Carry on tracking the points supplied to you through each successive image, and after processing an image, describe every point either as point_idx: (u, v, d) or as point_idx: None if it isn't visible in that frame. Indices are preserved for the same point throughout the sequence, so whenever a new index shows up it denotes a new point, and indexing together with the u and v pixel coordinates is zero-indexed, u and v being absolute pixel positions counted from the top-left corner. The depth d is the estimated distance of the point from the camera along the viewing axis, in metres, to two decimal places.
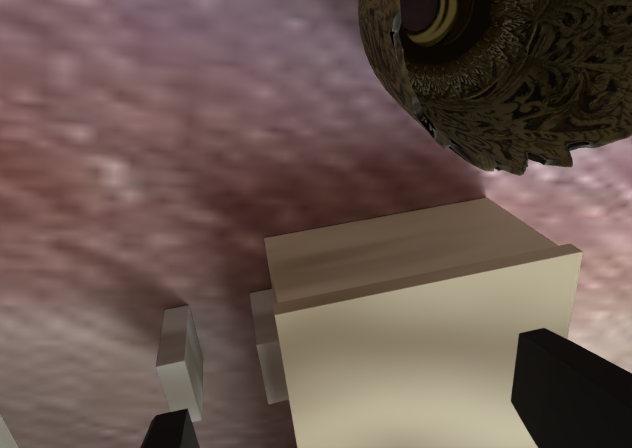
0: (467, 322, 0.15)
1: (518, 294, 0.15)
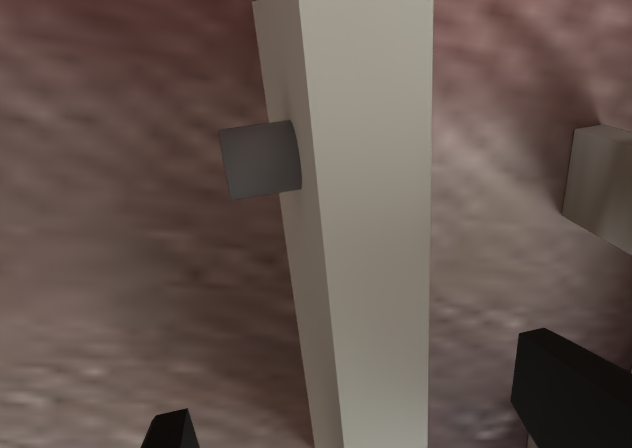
0: None
1: None
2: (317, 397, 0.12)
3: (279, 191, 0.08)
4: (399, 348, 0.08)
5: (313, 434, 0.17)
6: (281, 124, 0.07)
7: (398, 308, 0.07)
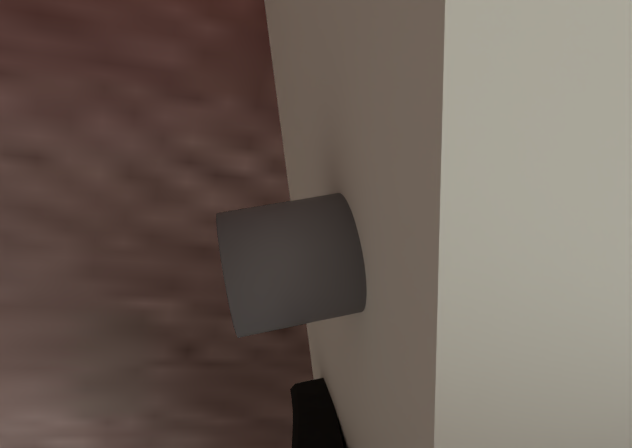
0: None
1: None
2: None
3: (323, 319, 0.04)
4: None
5: None
6: (329, 206, 0.04)
7: None
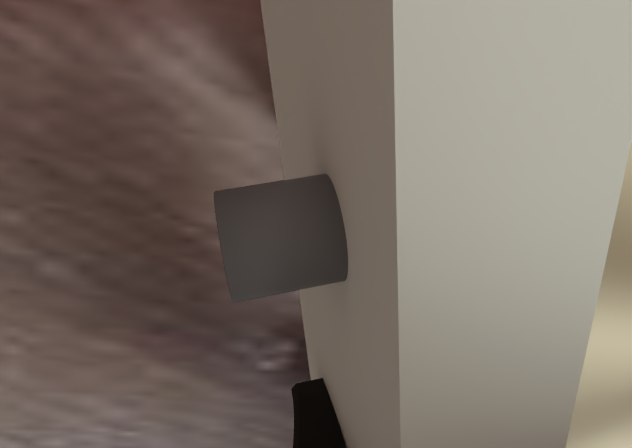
0: None
1: None
2: None
3: (310, 287, 0.05)
4: None
5: None
6: (315, 184, 0.05)
7: None
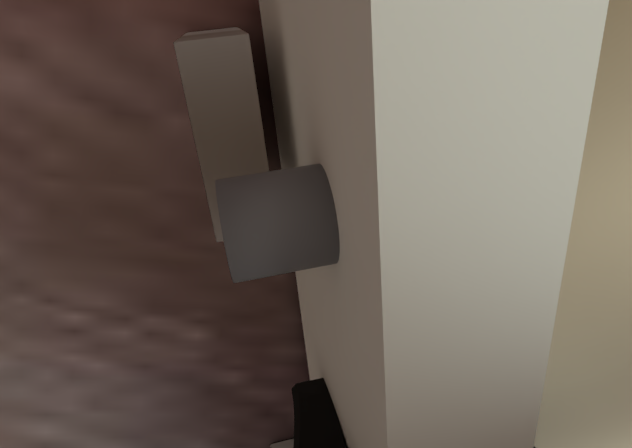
0: None
1: None
2: None
3: (305, 269, 0.05)
4: None
5: None
6: (309, 173, 0.05)
7: None
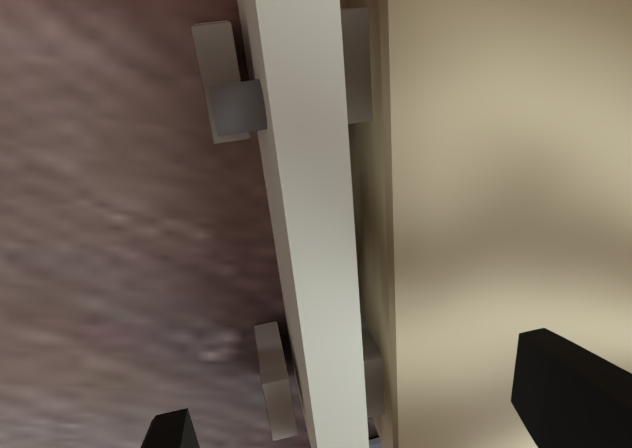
0: None
1: None
2: (289, 309, 0.16)
3: (251, 129, 0.11)
4: (334, 237, 0.11)
5: None
6: (252, 81, 0.11)
7: (331, 206, 0.11)
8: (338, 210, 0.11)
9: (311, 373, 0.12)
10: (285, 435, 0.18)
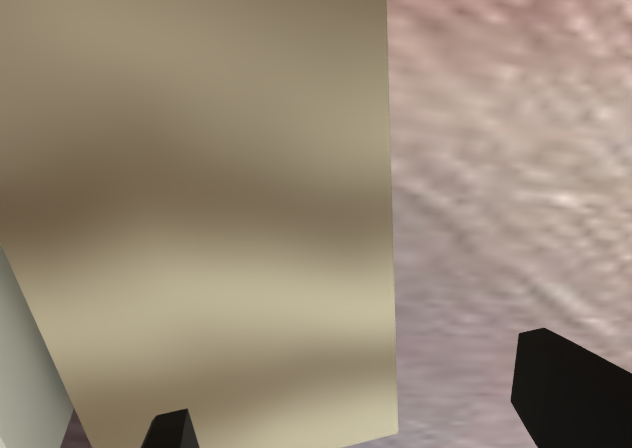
0: None
1: None
2: None
3: None
4: None
5: None
6: None
7: None
8: None
9: None
10: None
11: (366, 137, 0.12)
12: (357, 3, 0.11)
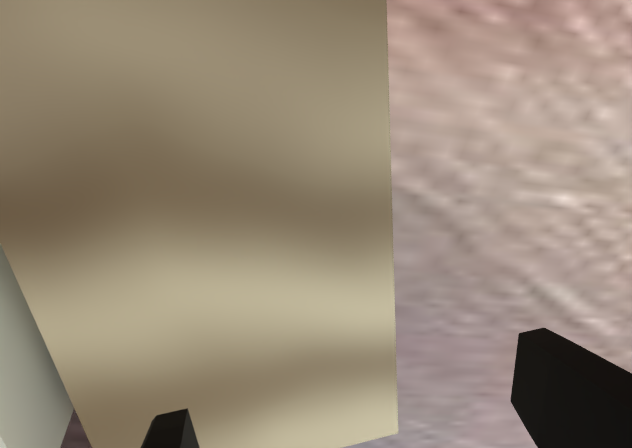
0: None
1: None
2: None
3: None
4: None
5: None
6: None
7: None
8: None
9: None
10: None
11: (366, 137, 0.12)
12: (357, 3, 0.11)
